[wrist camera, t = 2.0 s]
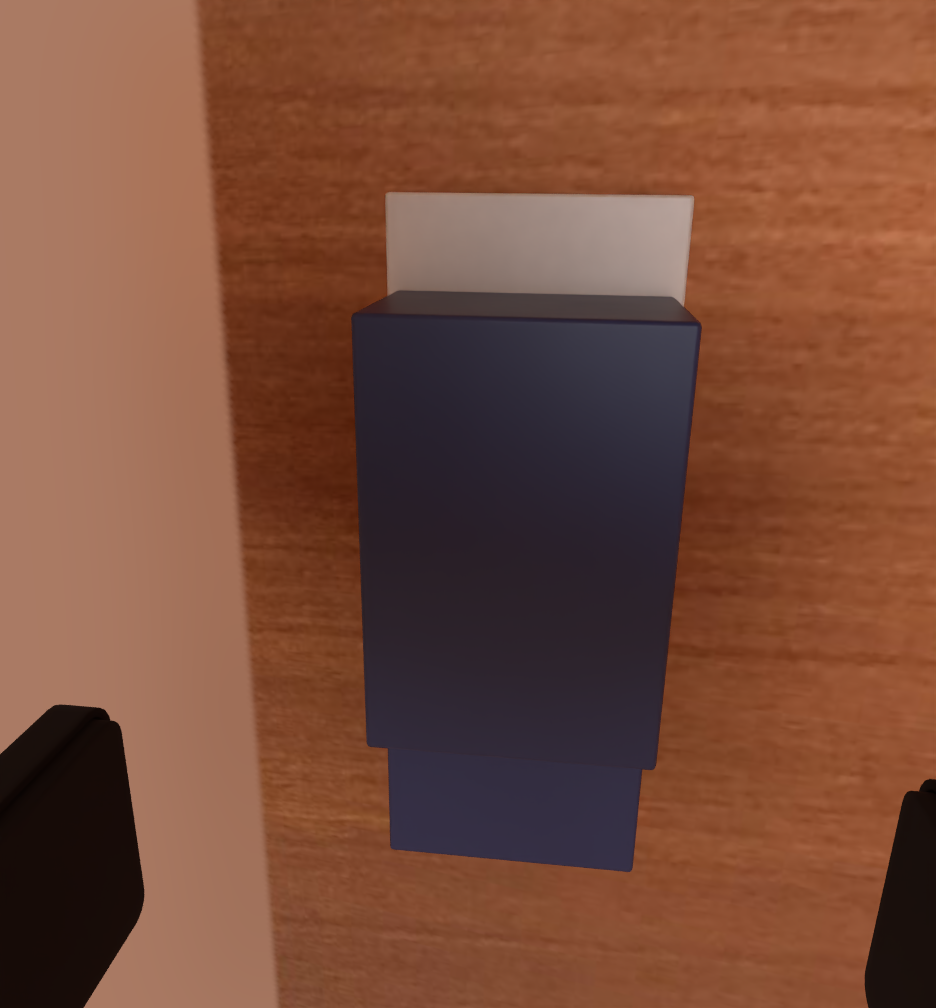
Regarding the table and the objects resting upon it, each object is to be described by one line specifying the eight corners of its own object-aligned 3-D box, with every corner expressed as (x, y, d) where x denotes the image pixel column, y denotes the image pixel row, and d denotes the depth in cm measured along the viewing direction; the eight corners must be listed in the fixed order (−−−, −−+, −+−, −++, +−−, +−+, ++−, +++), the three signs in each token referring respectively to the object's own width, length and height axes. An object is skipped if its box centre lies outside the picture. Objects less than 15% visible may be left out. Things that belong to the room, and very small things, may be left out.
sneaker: (398, 192, 19) (333, 189, 14) (686, 195, 18) (729, 193, 13) (408, 776, 25) (364, 929, 19) (630, 796, 24) (645, 959, 19)
